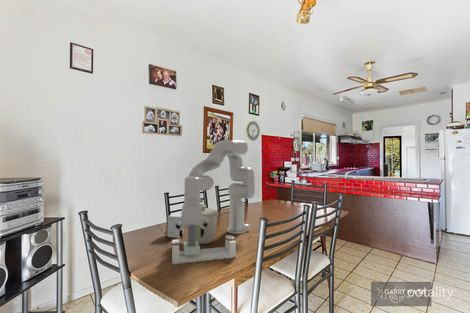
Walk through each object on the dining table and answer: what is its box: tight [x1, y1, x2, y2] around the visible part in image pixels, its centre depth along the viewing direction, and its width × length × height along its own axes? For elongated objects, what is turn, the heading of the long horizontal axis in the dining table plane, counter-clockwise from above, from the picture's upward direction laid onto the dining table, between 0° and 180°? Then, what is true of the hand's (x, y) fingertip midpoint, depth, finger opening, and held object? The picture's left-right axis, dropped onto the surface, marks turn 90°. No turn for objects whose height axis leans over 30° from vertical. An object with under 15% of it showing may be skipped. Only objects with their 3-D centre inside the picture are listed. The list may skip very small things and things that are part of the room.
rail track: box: [170, 235, 237, 265], centre depth 114 cm, size 32×10×8 cm, turn 105°
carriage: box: [183, 225, 201, 255], centre depth 112 cm, size 7×9×13 cm
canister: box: [195, 204, 219, 245], centre depth 134 cm, size 18×18×21 cm
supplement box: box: [167, 213, 184, 239], centre depth 142 cm, size 7×7×13 cm
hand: (191, 237), depth 112 cm, fingers open, 9 cm apart
